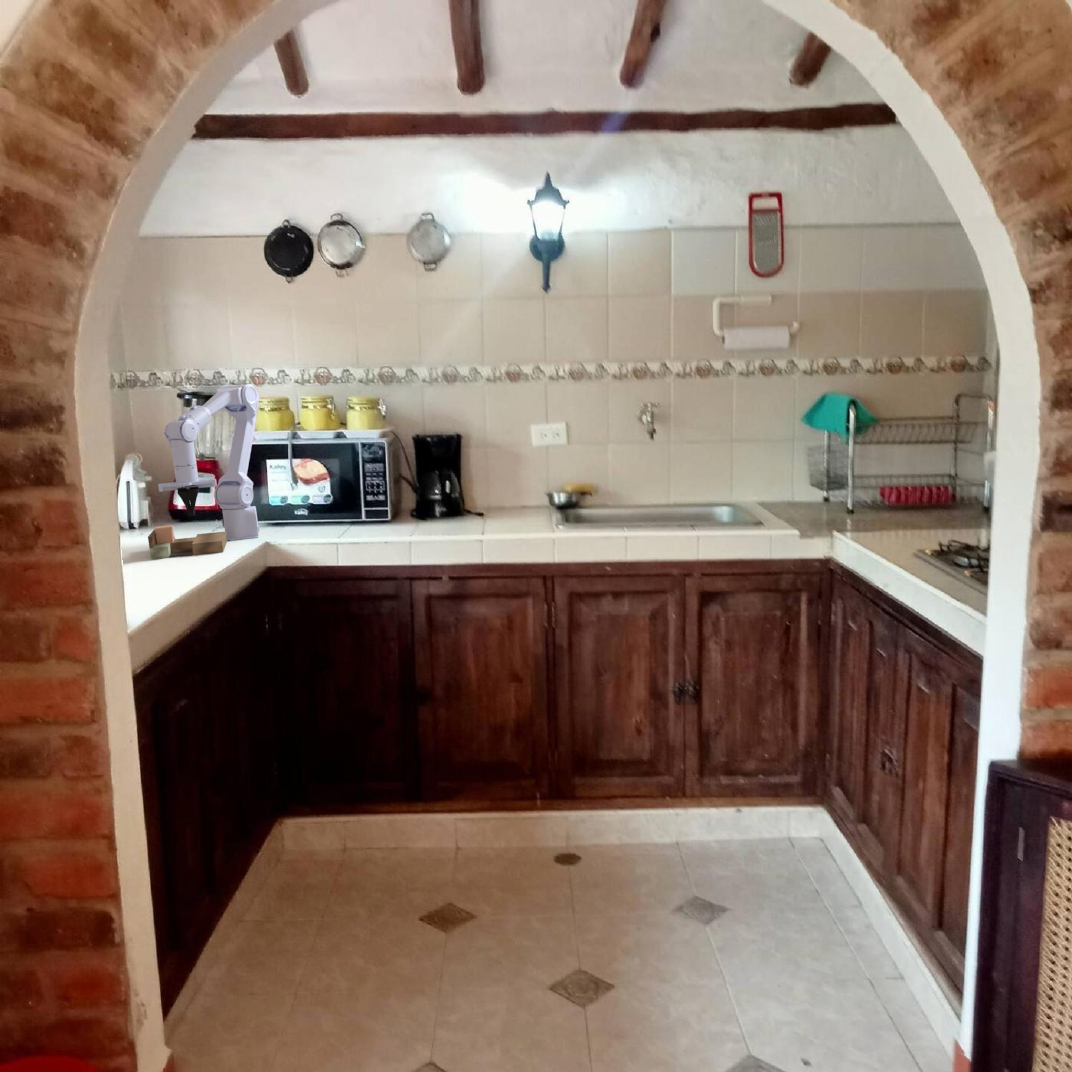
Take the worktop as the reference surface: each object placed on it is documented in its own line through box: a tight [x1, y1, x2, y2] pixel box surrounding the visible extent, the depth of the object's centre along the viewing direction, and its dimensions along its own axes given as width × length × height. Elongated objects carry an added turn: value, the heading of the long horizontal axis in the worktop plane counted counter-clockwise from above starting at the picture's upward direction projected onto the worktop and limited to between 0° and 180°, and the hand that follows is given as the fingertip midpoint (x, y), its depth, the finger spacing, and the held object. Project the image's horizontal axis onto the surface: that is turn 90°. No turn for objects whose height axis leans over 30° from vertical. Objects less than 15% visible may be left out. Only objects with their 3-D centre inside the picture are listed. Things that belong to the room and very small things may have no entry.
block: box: [154, 524, 175, 544], centre depth 252 cm, size 4×4×4 cm
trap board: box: [147, 528, 228, 560], centre depth 254 cm, size 18×16×6 cm
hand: (191, 515), depth 254 cm, fingers closed
